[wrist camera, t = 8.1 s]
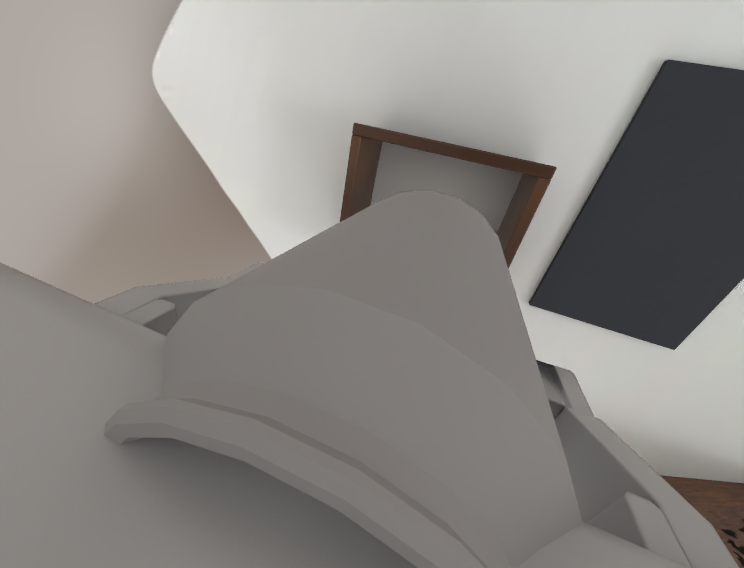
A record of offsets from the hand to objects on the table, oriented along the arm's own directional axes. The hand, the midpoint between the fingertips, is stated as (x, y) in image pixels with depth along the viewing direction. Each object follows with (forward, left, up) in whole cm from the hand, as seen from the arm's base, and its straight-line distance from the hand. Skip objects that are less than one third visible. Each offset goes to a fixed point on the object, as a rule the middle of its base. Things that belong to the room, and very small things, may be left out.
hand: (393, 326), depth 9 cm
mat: (0, +18, -21) cm, 27 cm away
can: (0, 0, -6) cm, 6 cm away
